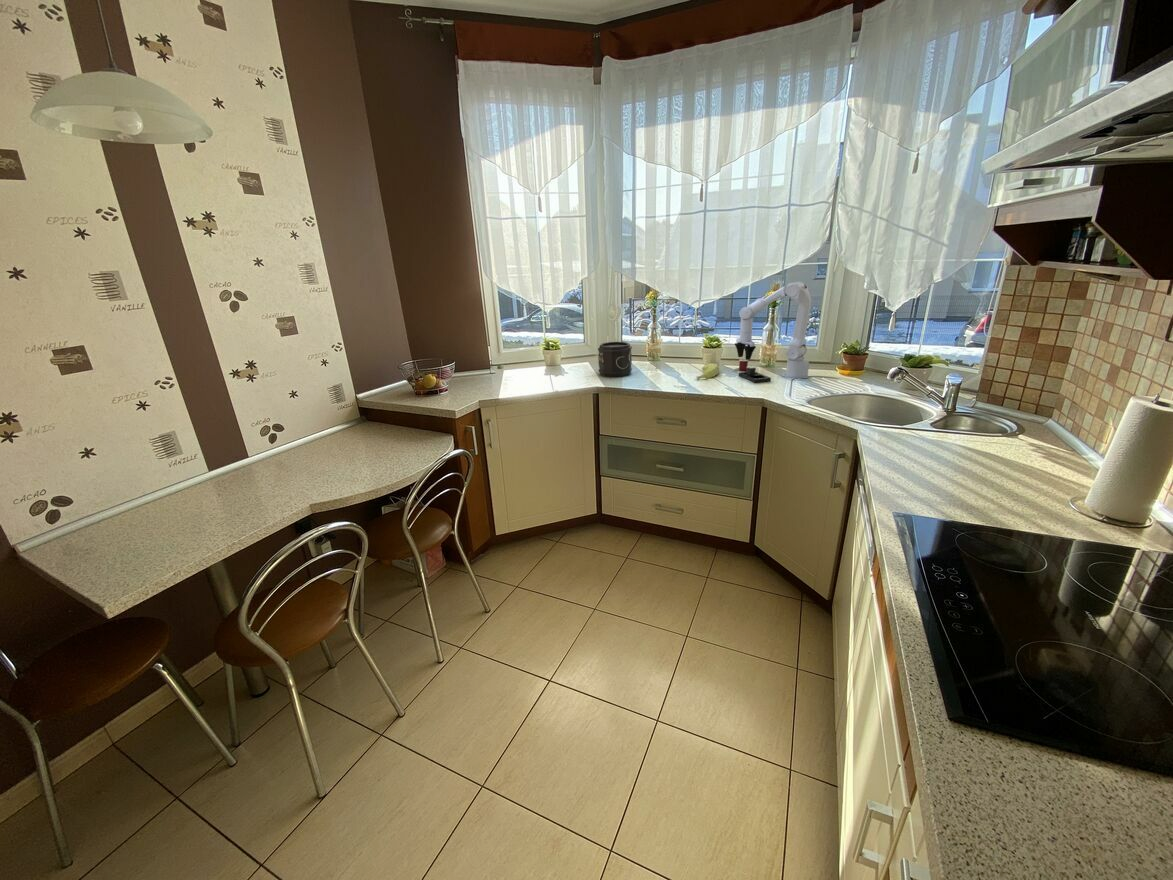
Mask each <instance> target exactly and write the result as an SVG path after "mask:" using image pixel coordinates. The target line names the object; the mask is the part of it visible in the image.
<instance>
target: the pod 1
mask: <svg viewBox="0 0 1173 880" xmlns="http://www.w3.org/2000/svg"><path fill="white" fill-rule="evenodd" d="M738 361H739V364H738V368H739V370H741V371H745V370H747V366H749V364H748V363H749V360H746V358H741V359H739V360H738Z"/></svg>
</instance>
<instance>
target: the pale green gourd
mask: <svg viewBox="0 0 1173 880" xmlns="http://www.w3.org/2000/svg"><path fill="white" fill-rule="evenodd" d="M719 369H720V368H719V365H718V364H717V363H712V362H711V363H706V364H704V365H703V366H702V368H701V370H702V371H704V372H703V373H702V374H701V375H699V376H697V375H696V381H698V380H700V379H703V378H704V379H711V378H714V377H715V376H716V375H718V374H719V373H720V370H719Z"/></svg>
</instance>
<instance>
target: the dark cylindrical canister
mask: <svg viewBox="0 0 1173 880" xmlns="http://www.w3.org/2000/svg"><path fill="white" fill-rule="evenodd" d="M632 349H633V347H632V345H631V344H630V343H629V342H626V341H607V342H602V343H600V345H599V347H598V348H597V351H598V354H597V356H598V361H597V362H598V368H599V369H598V372H599V373H600V375H601V376H602V377H604V378H605V377H606V378H623V377H627V376H629V375H630V374H631V371H633V367H632V362H633V359H632V358H633V355H632Z"/></svg>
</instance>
